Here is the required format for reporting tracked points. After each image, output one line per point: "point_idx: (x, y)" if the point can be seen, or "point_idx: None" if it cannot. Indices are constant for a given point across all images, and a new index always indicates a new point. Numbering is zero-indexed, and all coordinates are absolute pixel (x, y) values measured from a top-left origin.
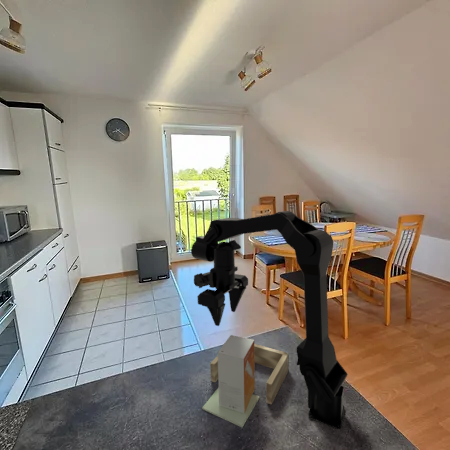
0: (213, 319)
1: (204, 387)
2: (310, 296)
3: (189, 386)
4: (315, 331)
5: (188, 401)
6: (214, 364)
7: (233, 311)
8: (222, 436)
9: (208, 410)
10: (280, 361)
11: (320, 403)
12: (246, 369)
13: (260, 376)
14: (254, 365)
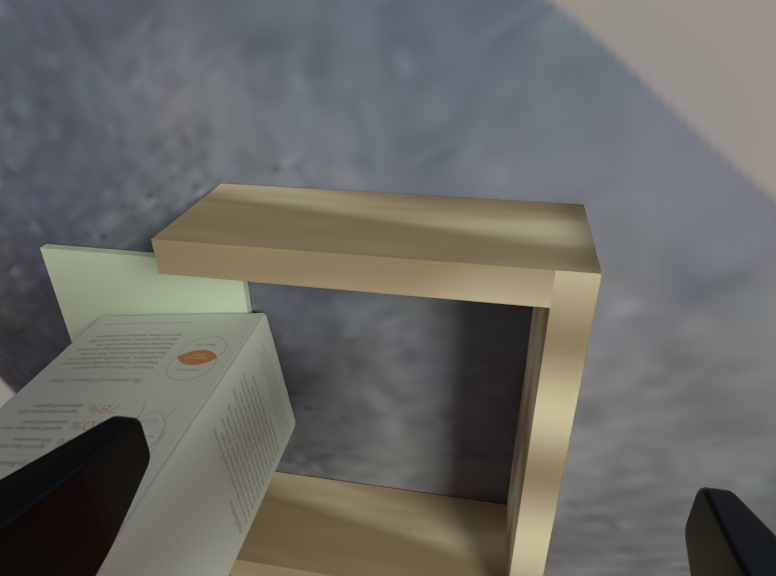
0: (4, 487)
1: (156, 173)
2: None
3: (97, 75)
4: None
5: (23, 146)
6: (163, 272)
7: (692, 520)
8: (26, 371)
9: (52, 281)
10: None
11: None
12: None
13: (415, 418)
14: (242, 541)
